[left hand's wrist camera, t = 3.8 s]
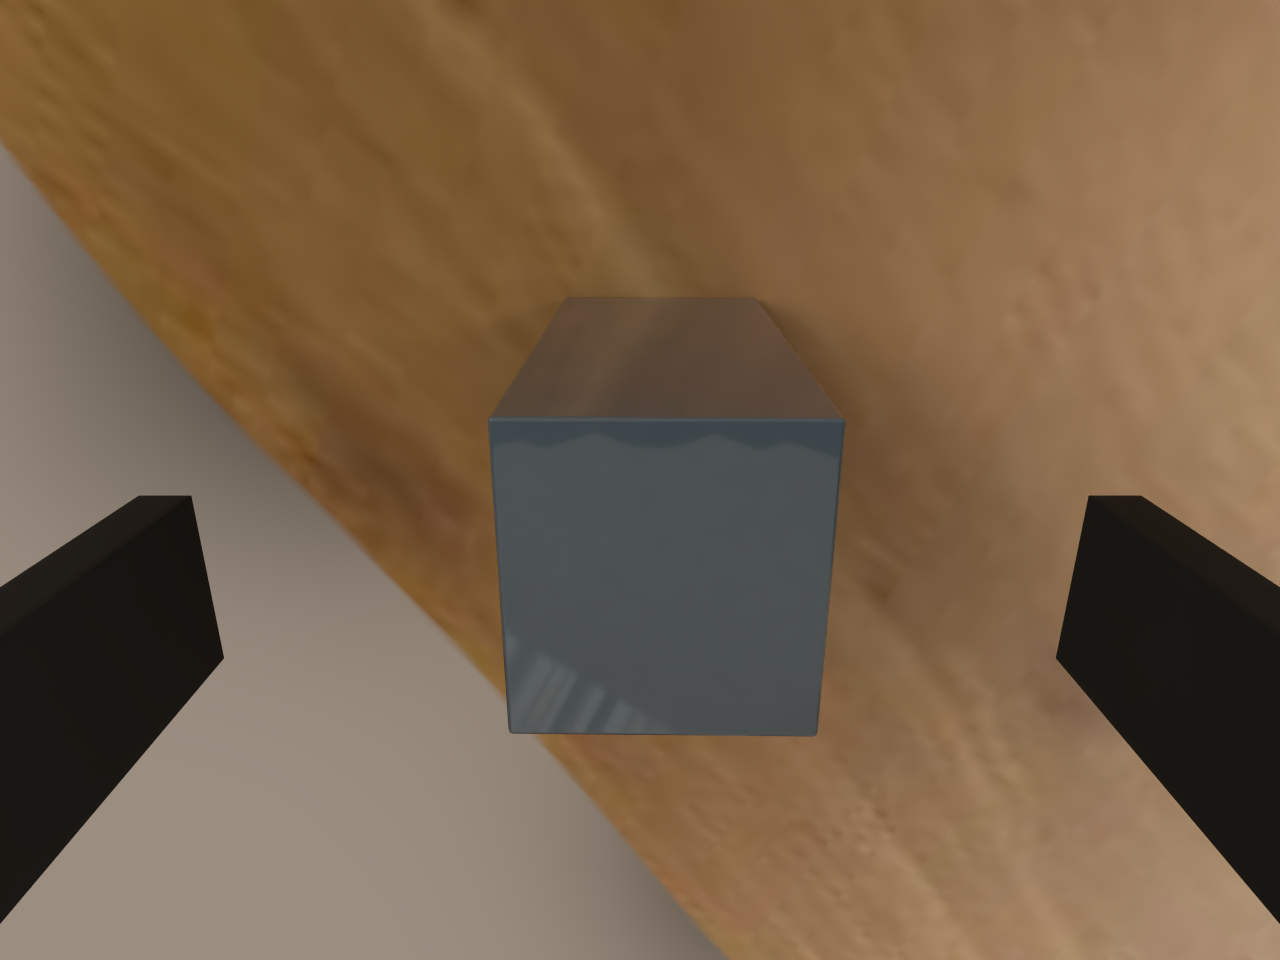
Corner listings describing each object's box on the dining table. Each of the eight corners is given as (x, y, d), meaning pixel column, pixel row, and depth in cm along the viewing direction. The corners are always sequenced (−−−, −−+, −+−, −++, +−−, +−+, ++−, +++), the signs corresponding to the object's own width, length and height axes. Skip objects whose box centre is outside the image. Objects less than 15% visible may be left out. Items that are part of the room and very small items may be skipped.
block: (570, 488, 23) (508, 735, 13) (564, 297, 21) (486, 417, 11) (747, 490, 22) (817, 738, 13) (757, 297, 21) (846, 419, 11)
